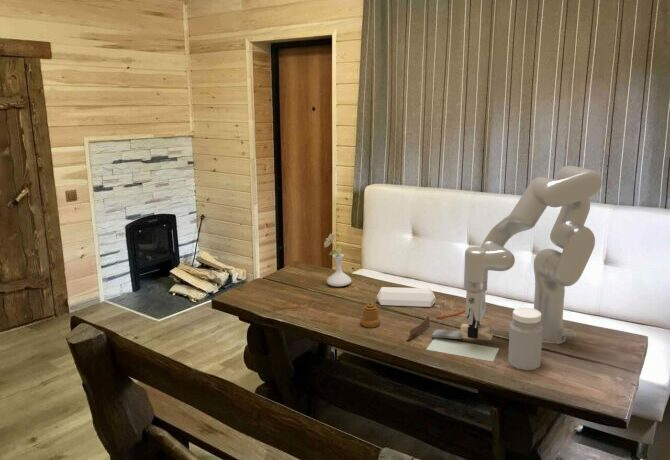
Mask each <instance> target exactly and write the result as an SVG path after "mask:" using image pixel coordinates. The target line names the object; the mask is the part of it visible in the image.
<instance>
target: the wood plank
mask: <svg viewBox="0 0 670 460" xmlns="http://www.w3.org/2000/svg"><path fill="white" fill-rule="evenodd" d="M430 325H431V323H430V317H429V315H428V316H427V317H426V319H425V320H423V321H422V323H420V324H419V325H418V326H416V327H413V328H412V329H410V330H409V335H408V339H407V340H405V341H406V342H407V341H409V340H413V339H415V338H417V337H418V336H420V335H421V334H423V333H424V332H425V331H426V330H427V329H428V328H429V327H430Z"/></svg>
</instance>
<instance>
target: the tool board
mask: <svg viewBox="0 0 670 460" xmlns="http://www.w3.org/2000/svg"><path fill="white" fill-rule="evenodd" d="M425 350H426V351H432V352H439V353H444V354H449V355H455V356H460V357H466V358H472V359H475V360H476V359H477V360H483V361H488V362H494V360H495V359H496V357H497V355H498V352H499V350H500V348H498V347H492V346H486V345H480V344H474V343H469V342H464V341H463V342H462V341H457V340H452V339H447V338H439V337H433V339H432V340H431V342H430V343H429V344H428V346H427V348H426V349H425Z"/></svg>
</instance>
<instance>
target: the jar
mask: <svg viewBox="0 0 670 460" xmlns="http://www.w3.org/2000/svg"><path fill="white" fill-rule="evenodd" d="M511 320H512V321H511V322H510V325H509V332H508V333H509V334H508V335H509V336H508V337H509V338H508V353H507V354H508V355H507V363H508V364H510V366H511V367H513V368H515V369H517V370H524V371H533V370H534V371H535V370H537V369H538V368H540V366H541V364H542V363H541V362H542V351H543V350H542V346H543V342H542V334H543V327H542V326H541V321H540V320H541V313H540V312H539V311H538V310H535V309H534V307H533V308H531V307H525V306H524V307H518V308H515V309H513V311H512V319H511Z"/></svg>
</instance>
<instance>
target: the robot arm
mask: <svg viewBox="0 0 670 460" xmlns="http://www.w3.org/2000/svg"><path fill="white" fill-rule="evenodd" d="M602 183H603V179H602V177H601V175H600V174H599V173H598V172H597V171H595V170H592V169H588V168H584V167H580V166H575V165H565V166H562V167H561V168H560V169H559V170H558V173H557V175H556V179H553V178H549V177H544V176H538V177H535V178H534V179H532V180H531V181H530V183H529V184H528V185H527V187H526V189H525V191H524V192H523V194H522V195H521V196H520V198H519V200H518V201H517V203H516V205H515V206H514V207H513V209H512V210H511V212H510V213H509V214H508V215H507V216H506V217H504V218H503V219H502V220H500V221H499V222H498V223H497V224H495V226H493V227H492V229H491V230H490V231H489V232H488V234H487V235H486V237H485V238H484V239H483V241H482V244H481V245H480V246H472V247H471V246H470V247H469V248H466V250H465V251H464V272H463V273H464V274H463V275H464V277H463V289H464V290H465V291H466V294H465V295H466V296H465V309H464V310H465V312H464V313H465V317H464V318H465V320H468V323H467V324H468V338H467V339H471V338H474V339H473V340H475V339H476V340H478V339H477V338H478V327H477V325H479V324H481V323H480V322H481V320H482V318H483V317H484V315H485V309H486V291H487V290H488V277H489V271H492V272H493V271H494V272H507V271H508V270H510V269H511V268H513V267H514V265H515V261H516V260H515V255H514V254H513V252H511V251H510V250H509V249H507V248H506V247H505V245H506V243H507V242H508V241H509V239H511V238H512V237H513V236H515V235H517V234H519V233H522V232H525V231H528V230H531V229H533V228H534V227H535V226H536V224H537V223H538V221H539V220H540V218H541V216H542V215H543V213H544V212H545V211H546V209H547V207H550V208H560V207H561V208H560V211H559V213H558V215H557V216H556V220H555V222H554V224H553V227H552V228H551V231H550V234H549V239H550V241H551V243H552V244H553V245H555V246H556V247H558V248H559V249H562V251H560V250H559V251H558V250H557V249H553V248H544V249H541V250H540V251H538V253H536V255H535V257H534V260H533V272H534V282H535V283H534V300H533V309H535V310H538V311H539V312H540V313H541V320H540V321H541V326H542V327H543V334H542V343H546V344H547V343H548V344H556V345H562V344H563V343H565V342H566V340H567V338H571V339H576V336H577V333H576V332H573V329H566V328H564V326H565V325H564V324H563V320H564V304H565V294H566V288H565V287H571V286H573V285H574V284H575V285H576V283H577V282H578V281H579V280H580V278H581V276H582V275H583V273H584V272H585V271H584V270H585V269H586V267H587V264H588V262H589V260H590V257H591V255H592V254H593V252H594V249H595V245H596V237H595V234H594V232H593V231H592V229H590V228H589V227H587V226H585V224H586V221H587V218H588V216H589V214H590V210H591V197H593V196H595V195H596V194H597V193H599V192H600V190H601V187H602V186H603V185H602Z"/></svg>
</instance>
